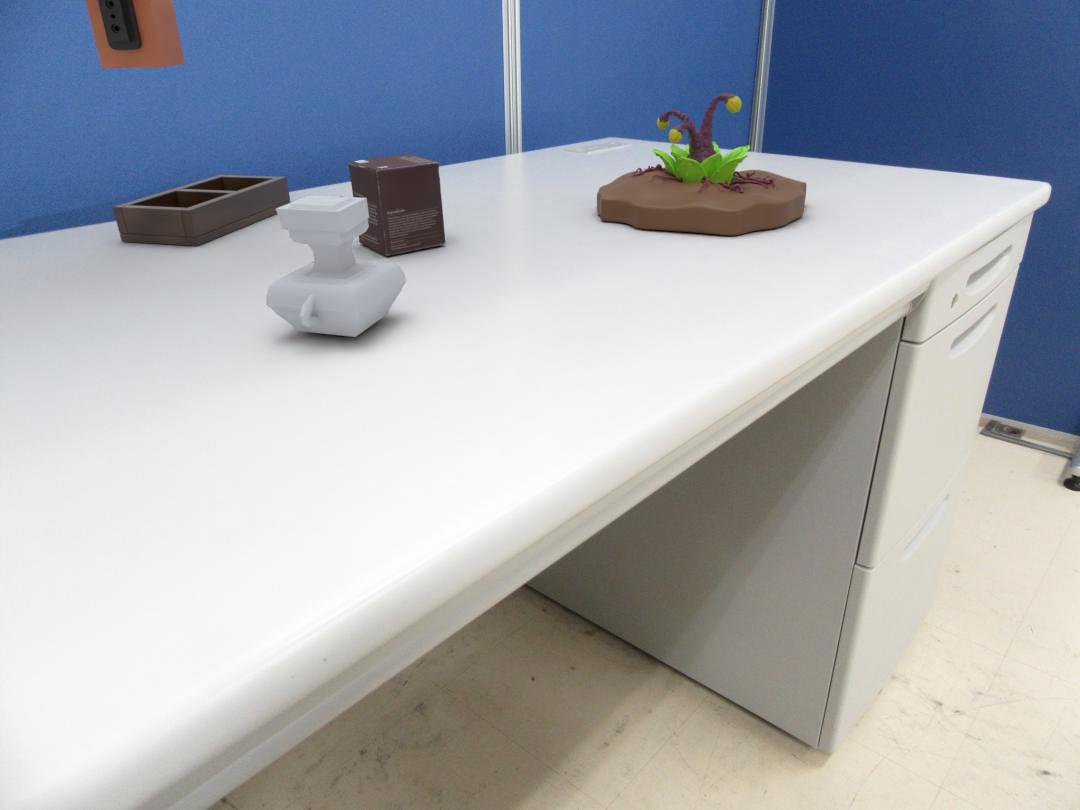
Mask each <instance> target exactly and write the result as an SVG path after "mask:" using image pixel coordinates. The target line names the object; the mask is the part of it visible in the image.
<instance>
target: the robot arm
mask: <svg viewBox="0 0 1080 810" xmlns="http://www.w3.org/2000/svg"><path fill="white" fill-rule="evenodd" d="M98 3H99V7H100V11H101V16H102V20H103V24H104V28H105V32H106V36H107V41H108V44H109V46H110V47H111V48H112V49H114V50H136V49H140V48H141V46H142V41H141V36H140V31H139V27H138V22H137V18H136V13H135V9H134V4H133V0H98Z"/></svg>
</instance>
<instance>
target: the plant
mask: <svg viewBox="0 0 1080 810" xmlns="http://www.w3.org/2000/svg"><path fill="white" fill-rule="evenodd" d="M720 102H723V103H724V105H725V108H726V109H727V111H729V113H731V114H736V113H740V110H741V109H742V105H743V103H742V99H741V98H740V96H737V95H736V94H735V93H730V92H722V93H721V92H720V93H718V94H717V95H716V96H715V97H713V98H712V100H711V102H710V103H709V105H708V106H707V107H706V110H705V111H704V116H703V118H702V123H700V124H701V125H700V130H699V129H698V128H697V126H696V125H695V122H693V119H692V118H690V117H689V115H687V114H686V113H683V112H682V111H680V110H679V109H677V110H676V109H673V108H672V109H671V110H668V111H665V112H663V113H662V114H660V115H659V117H658V118H657V120H656V127H657V128H658V129H659V130H661V131H664V130H666V129H667V128H668V127H669V126H670V116H673V117H676V118H677V119H678V120H681V122H682V123H680V124H677V125H676V126H673V127H672V128H671V129H670V130H669V133H668V140H669V143H670V144H669V147H670V150H671V151H670V155H669V154H668V153H667V152H665V151H663V150H659V149H655V148H654V147H652V148H651V152H653V153H654V154H655V156H656V157H658V158H659V159H661V161H662V162H663V164H664V167H663V166H662V164H660V163H657V164H656V165H655V166H653V165H651V166H650V165H648V166H647V168H644V169H643V168H641V167H637V169H636V170H634V171H629V172H627V173H624V174H622V175H620V176H618V177H617V178H616V179H614V180H612V181H611V182H609V183H607V184H604V185H601V186H600V187H599V188H598V191H597V192H596V212H597V214H598V215H599V216H600V221H602V222H610V223H611V222H614V223H623V224H626V225H630V226H633V227H634V228H636V229H640V230H641V229H642V230H653V231H666V232H667V231H668V232H683V233H694V234H695V233H696V234H708V235H717V236H719V235H720V236H731V237H732V236H734V237H735V236H739V235H744V234H747V233H751V232H757V231H763V230H764V231H765V230H773V229H776V228H780V227H784V226H787V225H788V224H790V223H791V222H794V221H796V220H797V219H800V218H801V217H803V216H804V211H805V205H806V204H805V203H806V199H807V198H806V197H807V187H808V186H807V183H806V182H804V181H800V180H796V179H794V178H793V179H792V178H789V177H786V176H783V175H780V174H777V173H775V172H774V173H773V172H771V171H768V170H767V171H766V170H761V169H746V170H740V171H739V170H737V171H736V169H737V167H738V166H739V164H741V163H743V161H744V160H745V159H746V158H748V157H749V155H748V154H746V153H747V152H748V151H749V150H750V149H751V146H750V145H749V144H747V145H742V146H738V147H736V148H733V149H732V150H730V151H728V152H727V153H725V155H724V156H723V154H722V153H721V152H720V147H719V145H718V144H717V143H716V141H713V140H712V139H713V132H712V129H713V127H714V125H713V124H714V123H713V119H714V118H715V116H714V114H715V112H716V110H717V106H718V104H719V103H720ZM685 130H686V133H687V138H688V143H687V144H686V145H685V149H683V148H682V147H679V146H678V145H676V144H678V143H680V142H681V141H682V139H683V138H684V133H685V132H684V131H685Z"/></svg>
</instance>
